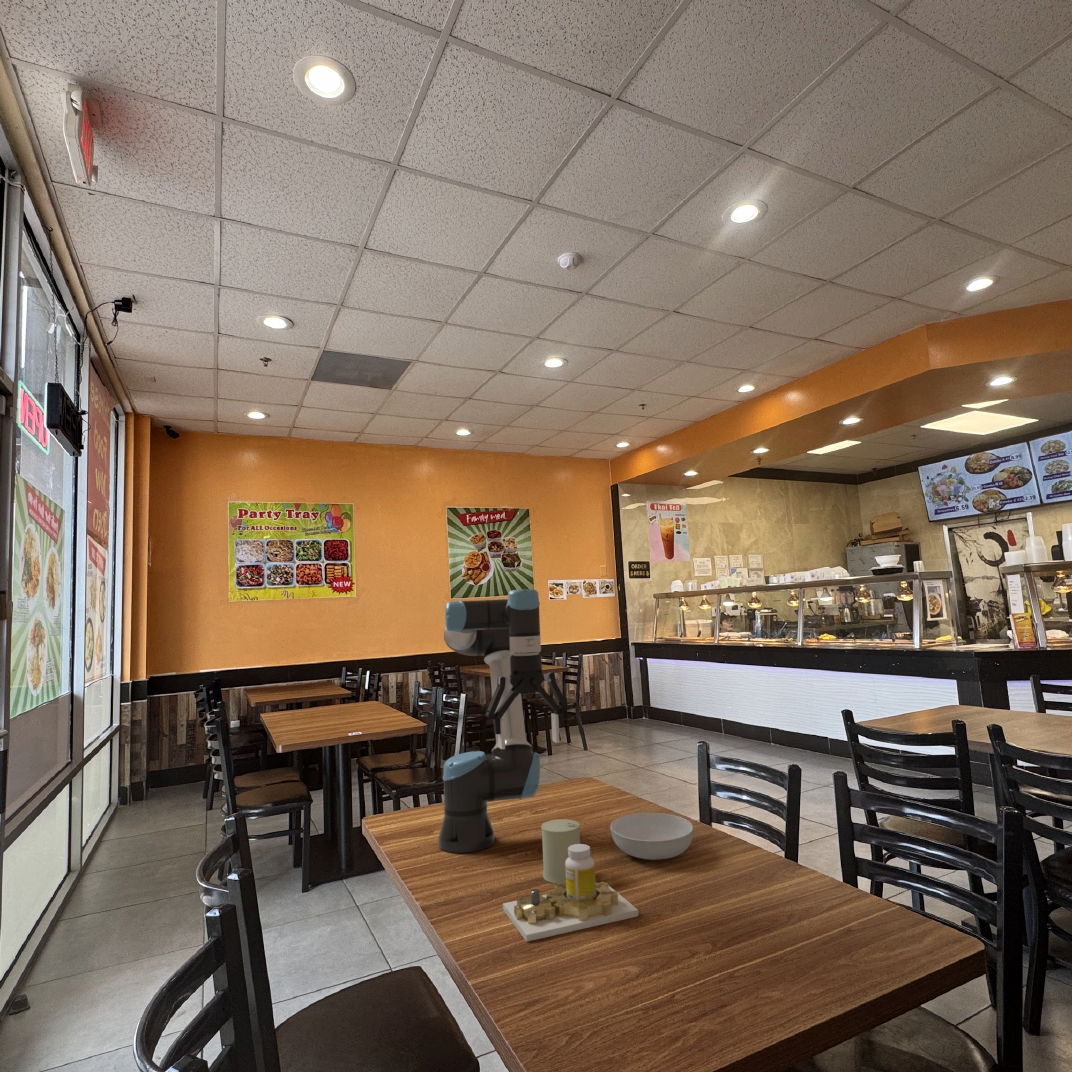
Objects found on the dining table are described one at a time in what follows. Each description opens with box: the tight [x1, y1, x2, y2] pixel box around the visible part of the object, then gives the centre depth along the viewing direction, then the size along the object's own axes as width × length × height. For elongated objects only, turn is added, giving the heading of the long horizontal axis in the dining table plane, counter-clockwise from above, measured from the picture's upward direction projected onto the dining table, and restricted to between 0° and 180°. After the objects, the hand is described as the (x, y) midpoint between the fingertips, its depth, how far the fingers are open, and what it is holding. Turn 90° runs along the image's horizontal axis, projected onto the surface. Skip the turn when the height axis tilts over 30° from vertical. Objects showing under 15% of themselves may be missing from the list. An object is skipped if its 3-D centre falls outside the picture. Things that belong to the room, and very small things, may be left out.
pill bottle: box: [565, 843, 597, 902], centre depth 139 cm, size 6×6×11 cm
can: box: [541, 818, 581, 885], centre depth 156 cm, size 9×9×12 cm
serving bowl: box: [609, 812, 694, 861], centre depth 168 cm, size 21×21×7 cm
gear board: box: [502, 884, 639, 942], centre depth 137 cm, size 15×24×1 cm, turn 110°
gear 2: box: [545, 881, 619, 921], centre depth 138 cm, size 14×14×2 cm
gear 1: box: [514, 888, 557, 924], centre depth 135 cm, size 8×9×4 cm
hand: (529, 745), depth 157 cm, fingers open, 13 cm apart
